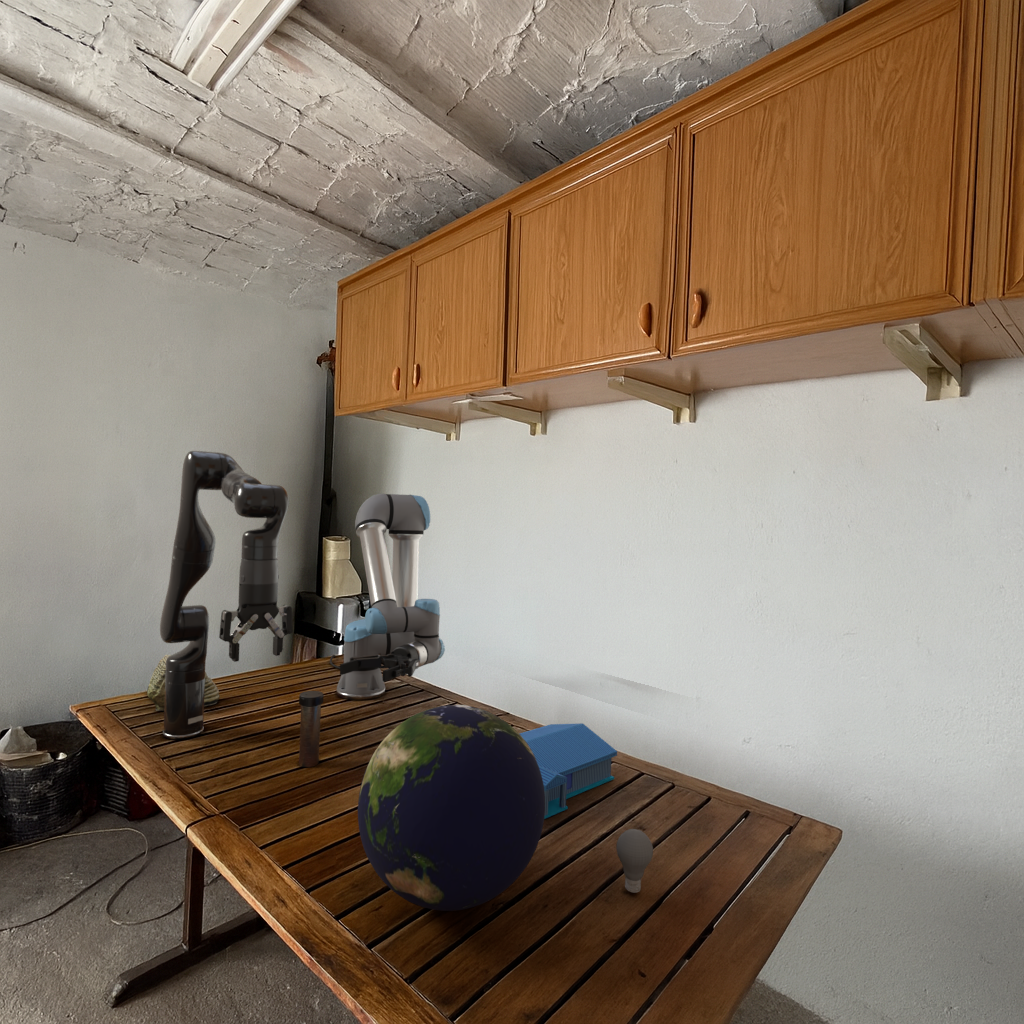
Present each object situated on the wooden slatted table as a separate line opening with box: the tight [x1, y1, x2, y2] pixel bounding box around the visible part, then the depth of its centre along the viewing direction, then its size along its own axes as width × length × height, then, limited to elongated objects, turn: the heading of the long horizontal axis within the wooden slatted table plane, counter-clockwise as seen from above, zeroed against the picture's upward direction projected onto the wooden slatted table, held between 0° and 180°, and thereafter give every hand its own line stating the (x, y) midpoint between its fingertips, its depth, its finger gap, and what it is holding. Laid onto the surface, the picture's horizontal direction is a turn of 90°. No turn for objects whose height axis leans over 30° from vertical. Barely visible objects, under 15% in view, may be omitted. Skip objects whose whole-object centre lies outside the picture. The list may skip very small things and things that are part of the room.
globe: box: [357, 704, 545, 912], centre depth 102 cm, size 30×30×30 cm
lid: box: [298, 690, 324, 707], centre depth 150 cm, size 6×6×2 cm
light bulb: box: [615, 828, 654, 894], centre depth 106 cm, size 6×6×10 cm
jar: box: [298, 704, 322, 768], centre depth 150 cm, size 4×4×16 cm
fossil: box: [146, 654, 221, 712], centre depth 185 cm, size 9×18×15 cm, turn 132°
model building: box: [519, 722, 618, 820], centre depth 142 cm, size 39×24×10 cm, turn 132°
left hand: (256, 657), depth 132 cm, fingers open, 8 cm apart
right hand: (362, 672), depth 164 cm, fingers open, 13 cm apart
